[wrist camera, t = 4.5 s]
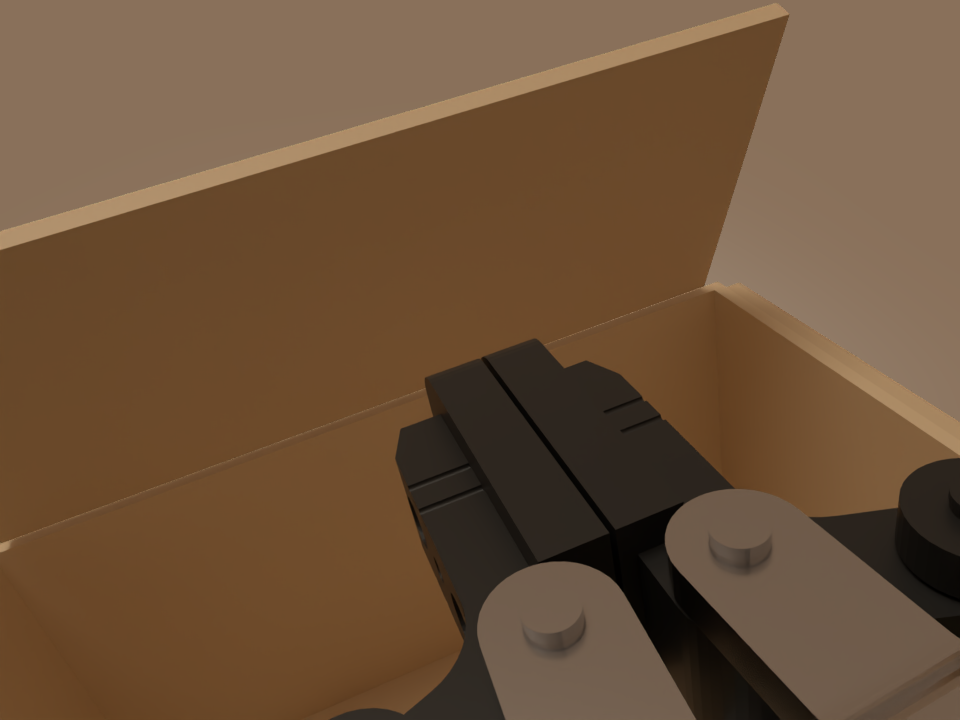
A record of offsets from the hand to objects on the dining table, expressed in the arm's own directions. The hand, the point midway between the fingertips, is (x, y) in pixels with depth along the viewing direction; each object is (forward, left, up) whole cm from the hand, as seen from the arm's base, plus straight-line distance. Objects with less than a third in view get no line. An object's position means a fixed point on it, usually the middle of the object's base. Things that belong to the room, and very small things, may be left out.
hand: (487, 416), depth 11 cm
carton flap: (-4, +10, -3) cm, 11 cm away
